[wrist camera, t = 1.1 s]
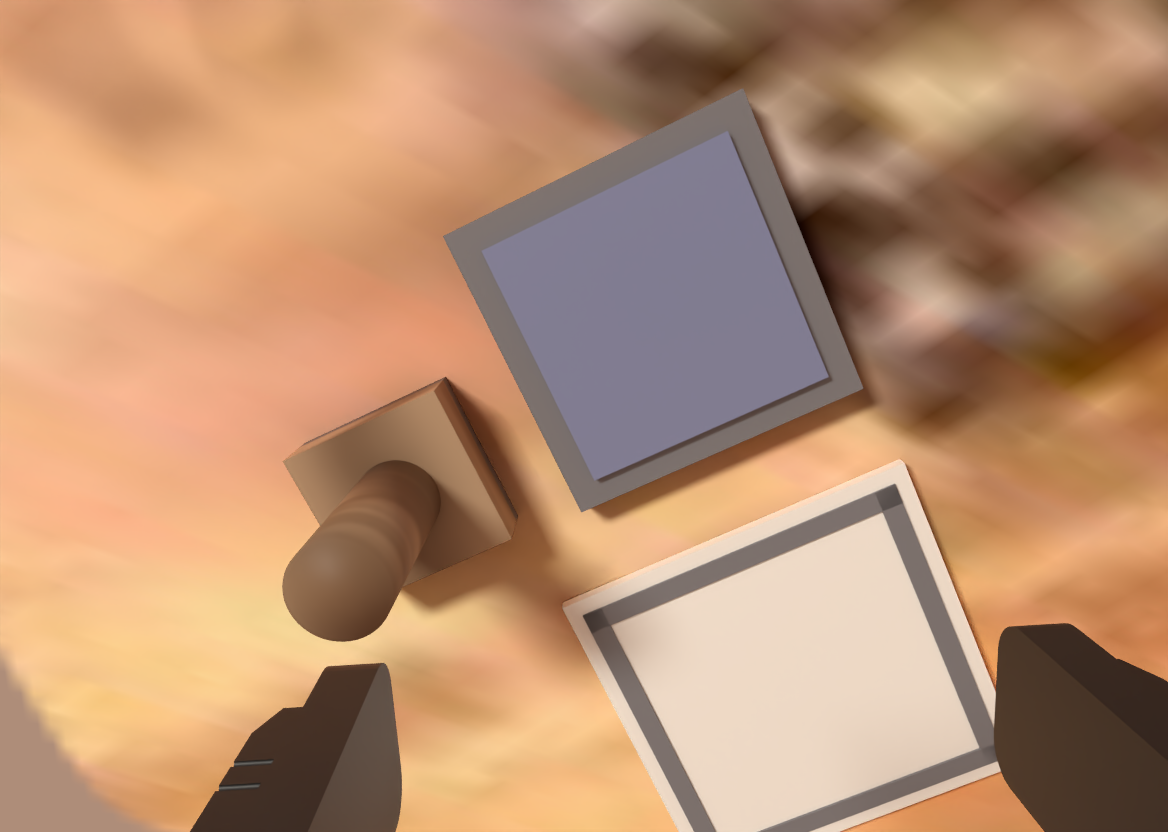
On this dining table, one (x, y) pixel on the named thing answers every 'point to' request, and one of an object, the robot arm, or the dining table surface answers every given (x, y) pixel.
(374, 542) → the stamp
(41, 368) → the dining table surface
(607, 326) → the ink pad
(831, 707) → the marked card
